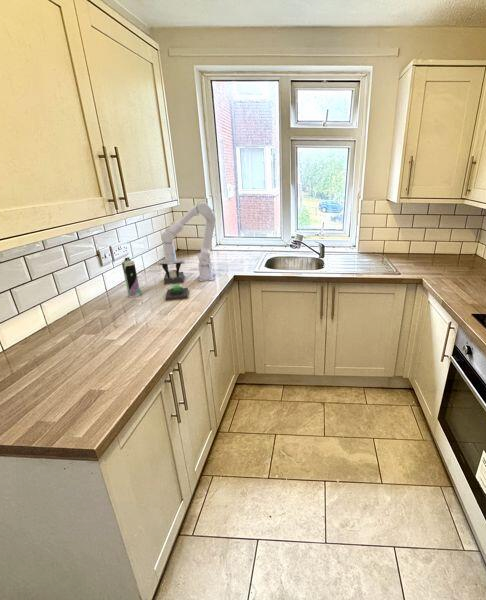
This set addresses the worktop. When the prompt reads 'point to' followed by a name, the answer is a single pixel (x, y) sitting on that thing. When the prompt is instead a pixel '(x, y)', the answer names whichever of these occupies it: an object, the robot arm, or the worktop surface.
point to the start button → (176, 288)
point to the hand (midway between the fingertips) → (173, 276)
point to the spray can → (131, 278)
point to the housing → (177, 294)
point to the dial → (172, 273)
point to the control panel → (174, 279)
